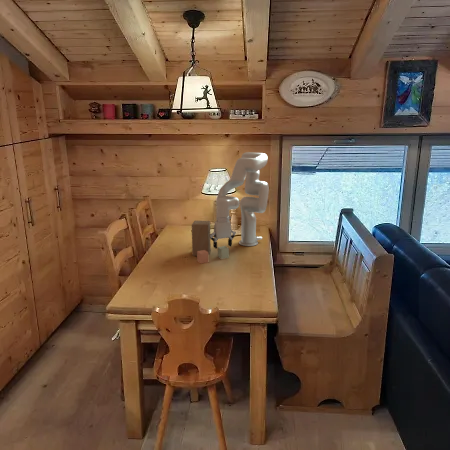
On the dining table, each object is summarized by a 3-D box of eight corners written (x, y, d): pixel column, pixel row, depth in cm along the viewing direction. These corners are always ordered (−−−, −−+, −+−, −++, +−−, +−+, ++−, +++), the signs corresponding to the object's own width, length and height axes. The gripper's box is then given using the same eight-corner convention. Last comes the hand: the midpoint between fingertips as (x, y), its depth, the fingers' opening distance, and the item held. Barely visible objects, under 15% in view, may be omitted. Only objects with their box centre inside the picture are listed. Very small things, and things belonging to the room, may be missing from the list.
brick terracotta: (205, 259, 249) (204, 249, 248) (208, 262, 245) (208, 252, 243) (197, 260, 247) (197, 251, 246) (200, 263, 243) (200, 253, 241)
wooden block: (210, 251, 264) (210, 220, 258) (208, 256, 254) (208, 224, 249) (195, 250, 265) (194, 220, 259) (192, 256, 255) (191, 224, 250)
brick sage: (225, 255, 256) (225, 246, 255) (228, 257, 252) (228, 248, 250) (217, 256, 254) (217, 247, 253) (221, 259, 250) (221, 249, 248)
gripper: (232, 216, 254) (232, 243, 258) (206, 219, 246) (206, 247, 250) (238, 219, 247) (238, 246, 251) (212, 222, 240) (212, 250, 244)
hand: (222, 247), depth 251 cm, fingers open, 9 cm apart
